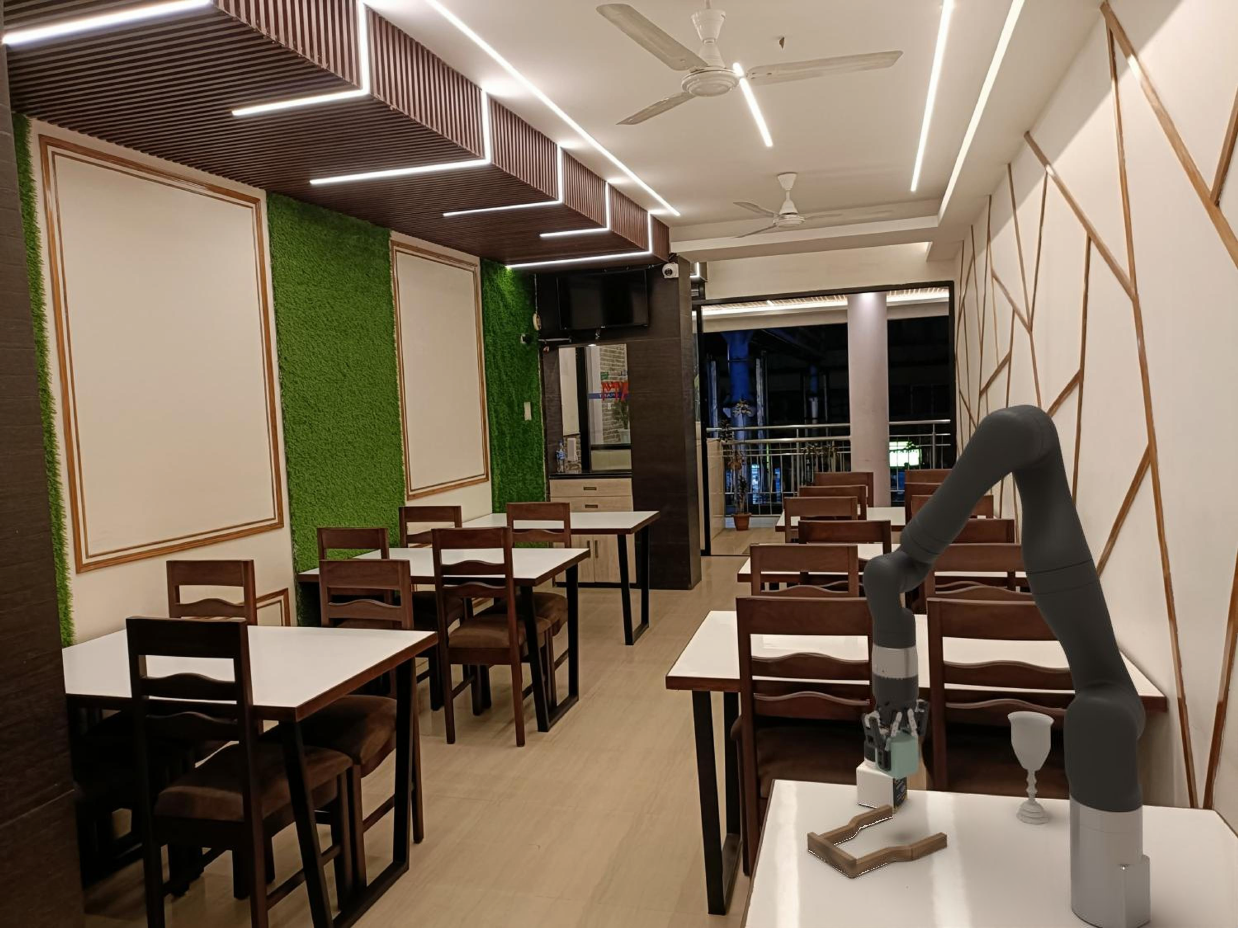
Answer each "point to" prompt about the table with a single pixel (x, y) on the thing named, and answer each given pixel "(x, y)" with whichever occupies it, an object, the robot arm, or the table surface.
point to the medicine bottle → (878, 784)
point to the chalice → (1031, 756)
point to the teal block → (902, 756)
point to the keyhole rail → (854, 867)
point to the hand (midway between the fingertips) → (897, 765)
